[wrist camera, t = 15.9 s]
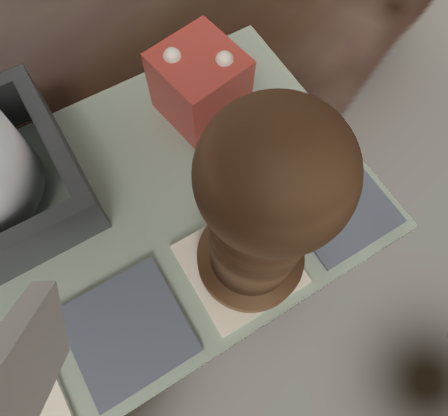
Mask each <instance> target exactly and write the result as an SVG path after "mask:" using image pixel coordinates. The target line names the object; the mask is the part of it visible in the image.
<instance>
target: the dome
mask: <svg viewBox="0 0 448 416" xmlns="http://www.w3.org/2000/svg"><path fill="white" fill-rule="evenodd" d="M44 189H45V171H44V167H43V164H42V162H41V160H40V158H39V156H38V155H37V154H36V152H35V151H34V150H33V149H32V148H31V146H30V145H29V144H28V143H27V142H26V140H25V139H24V138H23V137H22V135H21V134H20V133H19V132H18V131H17V129H16V128H15V127H14V126H13V125H12V123H11V122H10V121H9V120H8V118H7V117H6V116H5V115H4V114H3V112H2V111H1V110H0V233H1V232H3V231H5V230H7V229H9V228H11V227H13V226H15V225H17V224H19V223H21V222H23V221H25V220H27V219H29V218H30V217H31V216H32V215H33V213H34V212H35V210H36V209H37V207H38V205H39V203H40V201H41V199H42V196H43V193H44Z"/></svg>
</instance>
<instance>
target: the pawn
mask: <svg viewBox="0 0 448 416" xmlns="http://www.w3.org/2000/svg"><path fill="white" fill-rule="evenodd" d="M363 176H364V168H363V159H362V154H361V150H360V147H359V144H358V142H357V139H356V136H355V135H354V133H353V131H352V129H351V128H350V126H349V125H348V124H347V122H346V121H345V120H344V118H343V117H342V116H341V115H340V114H339V113H338V112H337V111H336V110H335V109H334V108H333V107H331V106H330V105H329V104H327V103H326V102H324V101H323V100H321V99H319V98H317V97H315V96H313V95H310V94H308V93H305V92H301V91H298V90H292V89H283V88H273V89H264V90H259V91H255V92H252V93H249V94H247V95H244V96H242V97H239V98H238V99H236V100H234V101H232V102H231V103H229V104H228V105H227V106H225V107H224V108H223V109H222V110H221V111H219V112H218V113H217V114H216V115H215V116H214V117H213V118H212V120H211V121H210V122H209V123H208V125H207V126H206V128H205V130H204V131H203V133H202V135H201V136H200V138H199V141H198V143H197V146H196V149H195V152H194V156H193V160H192V170H191V179H192V189H193V194H194V198H195V201H196V204H197V207H198V209H199V211H200V213H201V215H202V217H203V219H204V220H205V222H206V223H207V226H206V228H205V229H204V231H203V233H202V234H201V237H200V240H199V243H198V247H197V264H198V270H199V275H200V278H201V280H202V282H203V285H204V287H205V288H206V290H207V291H208V292H209V294H210V295H211V296H212V297H213V298H214V299H215V300H216V301H218V302H219V303H220V304H222V305H223V306H225V307H227V308H229V309H232V310H235V311H238V312H243V313H258V312H263V311H266V310H269V309H272V308H274V307H276V306H277V305H279V304H280V303H282V302H283V301H284V300H285V299H286V298H287V297H288V296H289V295H290V294H291V293H292V292H293V291H294V289H295V288H296V287H297V285H298V283H299V282H300V279H301V277H302V274H303V270H304V264H305V255H306V254H309V253H312V252H314V251H316V250H318V249H320V248H321V247H323V246H324V245H326V244H327V243H329V242H330V241H331V240H332V239H334V238H335V237H336V236H337V235H338V234H339V233H340V232H341V231H342V230H343V228H344V227H345V226H346V225H347V223H348V222H349V220H350V219H351V217H352V215H353V214H354V212H355V210H356V207H357V205H358V202H359V199H360V196H361V192H362V187H363Z"/></svg>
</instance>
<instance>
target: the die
mask: <svg viewBox="0 0 448 416" xmlns="http://www.w3.org/2000/svg"><path fill="white" fill-rule="evenodd" d="M140 55H141V59H142V63H143V67H144V72H145V76H146V80H147V84H148V88H149V93H150V97H151V101H152V105H153V106H154V107H155V108H156V109H157V110H158V111H159V112H160V113H161V114H162V116H163V117H164V118H165V119H166V120H167V121H168V122H169V123H170V124H171V125H172V126H173V127H174V128H175V129H176V130H177V131H178V132H179V133H180V134H181V135H182V136H183V137H184V138H185V139H186V140H187V141H188V142H189V143H190V144H191V145H192V146H193V148H194V149H196V146H197V143H198V141H199V138H200V136H201V135H202V133H203V131H204V130H205V128H206V126H207V125H208V123H209V122H210V121H211V120H212V118H213V117H214V116H215V115H216V114H217V113H218V112H219V111H221V110H222V109H223V108H224V107H225V106H227V105H228V104H229V103H231V102H232V101H234V100H236V99H238V98H239V97H242V96H244V95H247V94H249V93H252V91H253V83H254V76H255V68H256V61H255V60H254V59H253V58H252V57H250V56H249V55H248V54H247V53H246V52H245V51H244V50H243V49H241V48H240V47H239V46H238V45H237V44H236V43H235V42H233V41H232V40H231V39H230V38H229V37H228V36H227V35H225V34H224V33H223V32H222V31H221V30H220V29H219V28H217V27H216V26H215V25H214V24H213V23H212V22H211V21H210V20H208V19H207V18H206V17H205V16H204V15H203V16H201V17H199V18H198V19H196V20H194V21H193V22H191V23H190V24H188V25H186V26H185V27H183V28H182V29H180V30H178V31H177V32H175V33H173V34H172V35H170V36H169V37H167V38H165V39H164V40H162V41H160V42H159V43H157V44H156V45H154V46H152V47H151V48H149V49H148V50H146V51H144V52H143V53H141V54H140Z"/></svg>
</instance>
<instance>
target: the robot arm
mask: <svg viewBox="0 0 448 416" xmlns="http://www.w3.org/2000/svg"><path fill="white" fill-rule="evenodd" d="M447 337H448V335H447ZM69 351H70V347H69V342H68V337H67V332H66V327H65V322H64V317H63V312H62V307H61V302H60V297H59V292H58V287H57V282H56V281H31V283H30V284H29V285H28V287H27V288H26V289H25V291H24V292H23V293H22V295H21V296H20V297H19V299H18V300H17V301H16V303H15V304H14V305H13V307H12V308H11V309H10V311H9V312H8V313H7V315H6V316H5V317H4V319H3V320H2V321H1V323H0V416H40V414H41V412H42V410H43V408H44V405H45V403H46V401H47V399H48V397H49V394H50V392H51V390H52V388H53V386H54V384H55V381H56V379H57V377H58V375H59V373H60V370H61V368H62V366H63V364H64V362H65V359H66V357H67V355H68V353H69Z"/></svg>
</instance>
